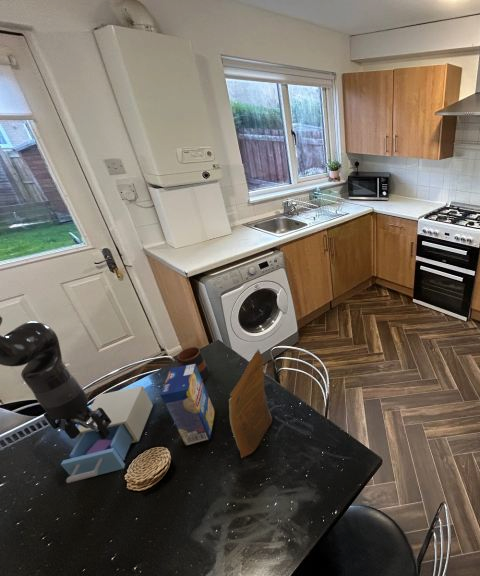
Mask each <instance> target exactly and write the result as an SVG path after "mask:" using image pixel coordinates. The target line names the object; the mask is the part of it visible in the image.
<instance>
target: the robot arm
mask: <svg viewBox="0 0 480 576" xmlns="http://www.w3.org/2000/svg"><path fill="white" fill-rule="evenodd" d="M2 323H3V317H2V316H1V315H0V326H1V325H2ZM59 341H60V340H59V338H58V336H57V333H56V332H55V331H54V329H53V328H51V327H50V326H49V325H48V324H45V323H43V322H39V321H28V322H25V323H22V324H20V325H18V326H17V327H15V328H14V329H13V330H11V331H9V332H7V333H6V334H4V335H1V334H0V366H3V367H4V366H5V367H13V368H14V367H21V366H24V365H25V366H24V367H23V369H22V370H21V372H20V376H21V378H22V380H23V381H24V383H25V384H26V386H27V387H28V388H29V389H30V390H31V392H32V393H33V395H34V398H35V400H36V401H37V402H38V403H39V405H40V406H41V407H42V409H43V410H44V411H45V412H44V413H43V417H44V418H45V419H46V421H47V422H48V424H49V425H50V426H51V428H52V429H54V430H57V429H59V430H60V431H64V432H65V433H66V435H67V436H68V437H69V439H71V440H73V439H76V438H78V437H77V436H78V435H79V434H80V431H79V429H78V426H79V425H81V426H83V427H84V428H91V429H93V430H94V431H95V432H96V433H97V435H98V436H99V438H100V439H101V440H104V439H105V438H106V437H107V436H108V435H109V434H110V431H109V430H108V428H107V426H108V425H109V424H110V423H111V422H112V421H111V420H110V418H109V417H108V416H107V414H106V413H105V412H104V410H103V409H102V408H98V409H97V410H91V409H90V407H89V406H88V403H89V397H88V395H87V393H86V392H85V391H84V389H83V387H82V386H81V385H80V383H79V381H78V380H77V379H76V378H75V377H74V376H73V375H72V373H71V372H70V371H69V368H67V366H66V365H65V363H64V361H63V357H62V356H63V355H62V350H61V346H60V345H61V344H60V342H59ZM90 417H91V420H92V421H91V422H90V423H86V422H87V421H88V420H89V419H90ZM94 422H95V423H96V425H97V426H95V425H93V423H94Z"/></svg>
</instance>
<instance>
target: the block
mask: <svg viewBox="0 0 480 576" xmlns="http://www.w3.org/2000/svg"><path fill="white" fill-rule="evenodd" d="M111 442H112V440H98V441H97V442H96V443H95V444H94V445H93V446H92V447H91V448H90V450H89V451H88V452H87V453H86V455H87V454H91V453H95V452H99V451H103V450H107V449H111V447H110V444H111Z"/></svg>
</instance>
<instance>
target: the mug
mask: <svg viewBox="0 0 480 576" xmlns="http://www.w3.org/2000/svg"><path fill="white" fill-rule="evenodd" d="M176 360H177V363H178V364H177V365H175V366H174V368H176V367H181V366H185V365H190V364H195V363H196V366H197V368H198V371H199V373H200V376H201V378H202V381H203V382H204V380H206V379H207V378H208V377H209V374H210V368H209V365H208V364H207V362H206V361H205V357H204V354H203V351H202V350H201V348H199V347H198V346H191V347H187V348H184V349H182V350H181V351H180V352H179V353H177V356H176Z"/></svg>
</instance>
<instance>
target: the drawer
mask: <svg viewBox="0 0 480 576" xmlns="http://www.w3.org/2000/svg"><path fill="white" fill-rule="evenodd" d="M108 430H109V431H110V434H109V435H108V436H107V437H106V438H105V439H104V440H112V442H111V444H110V447H111V449H107V450H103V451H99V452H95V453H91V454H87V455H86V453H87V452H88V451H89V450H90V448H91V447H92V446H93V445H94V444H95V443H96V442H97V441H98V440H101V439H100V438H99V436H98V435H97V433H96V432H95V431H90V432H86V433H82V435H81V436H80V438H79V439H78V440H77V442H76V443H75V445H74V447H73V449H72V450H71V452H70V454H69V457H70V458H68V459H64V460H62V462H61V463H60V466H61V467H62V468H63V470H65V471H66V473H67V474H68V475H69V476H68V477H67V478H66V480H65V482H66V483H67V484H72V483H74V482H75V483H76V482H79V481H82V480H86V479H89V478H93V477H96V476H101V475H104V474H108V473H111V472H116V471H120V470H124V469H125V466H126V463H125V462H124V461H125V459H126V457H127V455H128V452H129V449H130V447H131V444H132V443H131V442H132V440H133V437H132V436H131V434H130V432H129V431H128V429H127V428H126V426H125V424H120V425H116V426H112V427H108Z"/></svg>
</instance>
